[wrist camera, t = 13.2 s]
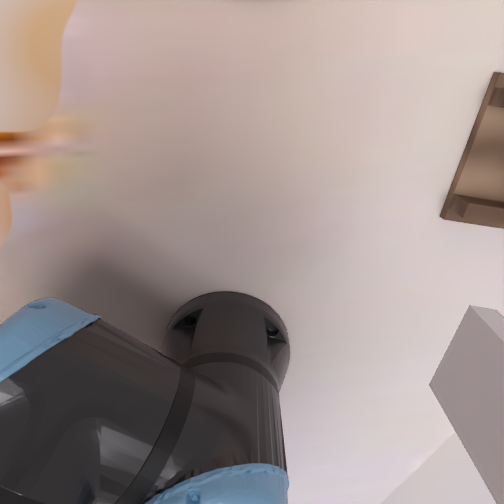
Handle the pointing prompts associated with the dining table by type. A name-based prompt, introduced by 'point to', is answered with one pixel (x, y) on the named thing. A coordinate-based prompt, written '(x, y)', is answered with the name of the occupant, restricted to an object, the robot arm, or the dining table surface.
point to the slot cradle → (481, 166)
